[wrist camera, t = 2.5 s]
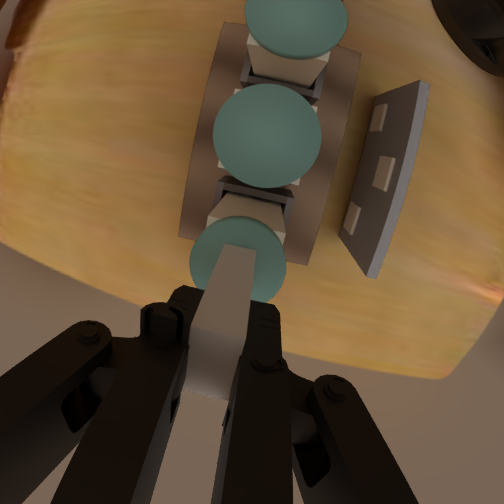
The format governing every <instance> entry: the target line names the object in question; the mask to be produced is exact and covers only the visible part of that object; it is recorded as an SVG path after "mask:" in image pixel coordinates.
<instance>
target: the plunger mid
mask: <svg viewBox="0 0 504 504" xmlns="http://www.w3.org/2000/svg"><path fill="white" fill-rule="evenodd" d="M317 108H318V107H316V106H312V105H310V104H309V102H308V101H307V100H306V99H305V98H304V97H302V96H301V95H300V94H299V93H297V92H295V91H294V90H292V89H289V88H287V87H284V86H281V85H276V84H257V85H253V86H249V87H246V88H244V89H242V90H241V89H235V91H234V95H232V96H231V97H230V98H229V99H228V100H227V101H226V102H225V103H224V105H223V106H222V107H221V109H220V111H219V112H218V115H217V117H216V119H215V123H214V128H213V143H214V148H215V151H216V154H217V156H218V158H219V162H218V167H219V168H224V169H226V170H227V171H228V172H229V173H230V174H231V175H232V176H234V177H235V178H236V179H238V180H240V181H241V182H243V183H246V184H248V185H251V186H255V187H261V188H275V187H280V186H284V185H287V184H290V183H291V184H295V185H299V182H300V178H301V177H302V176H303V175H304V174H305V173H306V172H307V171H308V170H309V169H310V168H311V166H312V165H313V163H314V162H315V160H316V158H317V156H318V153H319V150H320V146H321V127H320V123H319V119H318V117H317V114H316V113H317Z"/></svg>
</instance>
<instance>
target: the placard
mask: <svg viewBox="0 0 504 504" xmlns="http://www.w3.org/2000/svg"><path fill="white" fill-rule="evenodd" d="M429 88H430V85H429V84H427V83H426V82H424V81H422V80H418V81H415V82H413V83H410V84H407V85H404V86H401V87H399V88H396V89H393V90H391V91H388V92H385V93H383V94H380V95H378V96H375V100H374V105H373V110H372V114H371V119H370V123H369V127H368V132H367V136H366V140H365V144H364V148H363V152H362V156H361V160H360V164H359V167H358V171H357V175H356V179H355V182H354V186H353V189H352V193H351V196H350V200H349V203H348V207H347V210H346V213H345V217H344V220H343V223H342V226H341V230H340V233H339V237H340V239H341V240H342V242H343V243H344V244H345V246H346V247H347V249H348V250H349V252H350V253H351V255H352V256H353V258H354V259H355V261H356V262H357V264H358V265H359V267H360V268H361V270H362V271H363V273H364V274H365V276H366V277H370V278H374V279H376V278H377V275H378V273H379V270H380V267H381V265H382V262H383V260H384V257H385V254H386V252H387V249H388V246H389V243H390V241H391V238H392V235H393V232H394V229H395V226H396V223H397V220H398V217H399V214H400V211H401V208H402V204H403V201H404V198H405V194H406V191H407V188H408V184H409V181H410V177H411V173H412V169H413V166H414V162H415V158H416V154H417V150H418V145H419V141H420V136H421V132H422V127H423V122H424V117H425V112H426V106H427V101H428V95H429Z"/></svg>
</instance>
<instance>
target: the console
mask: <svg viewBox="0 0 504 504" xmlns="http://www.w3.org/2000/svg"><path fill="white" fill-rule="evenodd" d="M249 33H250V32H249V30H248V27H247V25H244V24H236V23H228V22H224V24H223V27H222V30H221V34H220V37H219V41H218V44H217V48H216V51H215V55H214V59H213V62H212V66H211V70H210V74H209V78H208V82H207V86H206V90H205V94H204V98H203V103H202V107H201V112H200V116H199V121H198V125H197V130H196V135H195V140H194V145H193V150H192V155H191V160H190V166H189V171H188V177H187V182H186V188H185V194H184V200H183V207H182V213H181V220H180V227H179V234H178V237H182V238H186V239H191V240H195V241H196V240H197V239H198V238H199V236H200V235H201V234H202V232H203V231H204V230H205V229H206V225H207V219H208V215H209V214H210V213H211V212H212V210H213V209H214V208H215V207H216V206H217V204H218V203H219V202H220V201H221V200H222V198H223V197H224V196H225V195H226V194H227V192H228V191H232V192H237V193H242V194H246V195H251V196H255V197H259V198H264V199H268V200H272V201H276V202H280V203H281V209H282V214H283V220H284V225H285V231H286V235H285V239H284V242H283V249H284V253H285V261H288V262H292V263H296V264H301V265H305V266H307V265H308V262H309V259H310V255H311V252H312V249H313V246H314V242H315V239H316V236H317V232H318V229H319V226H320V222H321V219H322V215H323V212H324V208H325V205H326V201H327V198H328V194H329V191H330V187H331V183H332V180H333V176H334V172H335V168H336V164H337V161H338V157H339V153H340V149H341V145H342V141H343V137H344V132H345V128H346V124H347V120H348V115H349V111H350V107H351V102H352V98H353V93H354V88H355V84H356V79H357V74H358V69H359V64H360V59H361V53H359V52H356V51H353V50H350V49H347V48H344V47H341V46H338V45H336V46H335V47H334V48H333V49H332V50H331V51H330V55H329V60H328V63H327V64H326V65H325V67H324V68H323V69H322V71H321V72H320V74H319V75H318V76H317V78H316V79H315V80H314V82H313V83H312V84H311V86H310V87H309V89H306V88H303V87H299V86H295V85H291V84H286V83H282V82H278V81H273V80H268V79H263V78H258V77H254V73H253V68H252V64H251V60H250V56H249V52H248V47H247V40H248V37H249ZM257 84H276V85H281V86H284V87H287V88H289V89H292V90H294V91H295V92H297V93H299V94H300V95H301V96H302V97H304V98H305V99H306V100H307V101H308V102H309V104H310V105H312V106H316V107H318V108H317V113H316V114H317V117H318V119H319V123H320V127H321V146H320V150H319V153H318V156H317V158H316V160H315V162H314V163H313V165H312V166H311V168H310V169H309V170H308V171H307V172H306V173H305V174H304V175H303V176H302V177H301V178H300V182H299V185H295V184H291V183H290V184H287V185H284V186H280V187H275V188H261V187H255V186H251V185H248V184H246V183H243V182H241V181H240V180H238V179H236V178H235V177H234V176H232V175H231V174H230V173H229V172H228V171H227V170H226V169H224V168H219V167H218V162H219V158H218V156H217V154H216V151H215V148H214V143H213V128H214V123H215V119H216V117H217V115H218V112H219V111H220V109H221V107H222V106H223V105H224V103H225V102H226V101H227V100H228V99H229V98H230V97H231V96H232V95H234V91H235V89H241V90H242V89H244V88H246V87H249V86H253V85H257Z"/></svg>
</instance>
